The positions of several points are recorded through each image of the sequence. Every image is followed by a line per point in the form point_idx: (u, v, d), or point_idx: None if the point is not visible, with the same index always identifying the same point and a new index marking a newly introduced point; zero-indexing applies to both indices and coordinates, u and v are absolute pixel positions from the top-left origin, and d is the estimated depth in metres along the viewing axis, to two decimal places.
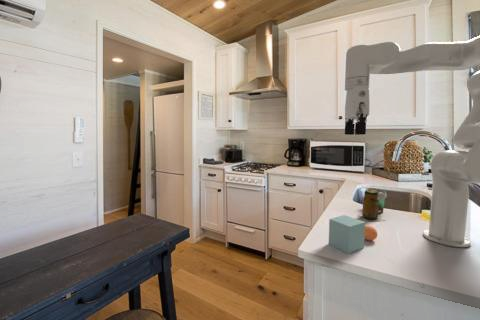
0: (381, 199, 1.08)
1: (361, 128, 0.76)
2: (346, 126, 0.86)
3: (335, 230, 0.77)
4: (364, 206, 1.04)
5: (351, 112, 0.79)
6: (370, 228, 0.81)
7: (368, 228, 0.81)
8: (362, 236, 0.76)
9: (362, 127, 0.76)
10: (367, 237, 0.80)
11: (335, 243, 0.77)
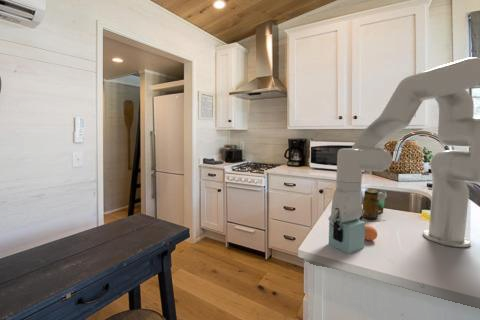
0: (381, 199, 1.08)
1: None
2: None
3: None
4: (364, 206, 1.04)
5: (358, 215, 0.76)
6: (370, 228, 0.81)
7: (368, 228, 0.81)
8: (362, 236, 0.76)
9: None
10: (367, 237, 0.80)
11: (335, 243, 0.77)
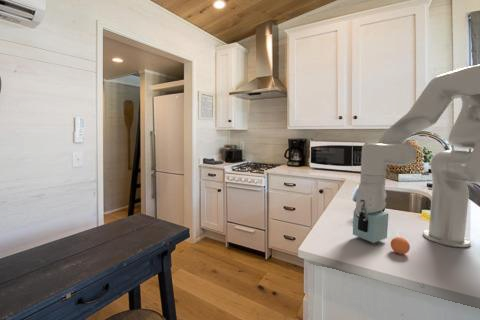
0: None
1: None
2: None
3: None
4: None
5: (381, 206, 0.80)
6: None
7: (391, 246, 0.74)
8: (385, 226, 0.80)
9: None
10: (396, 243, 0.72)
11: (359, 233, 0.81)
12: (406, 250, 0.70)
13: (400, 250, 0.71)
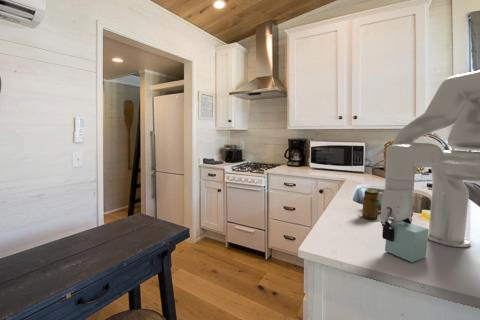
0: (381, 199, 1.08)
1: None
2: None
3: (395, 236, 0.71)
4: (364, 206, 1.04)
5: (409, 214, 0.73)
6: None
7: None
8: (425, 244, 0.70)
9: None
10: None
11: (394, 250, 0.71)
12: None
13: None
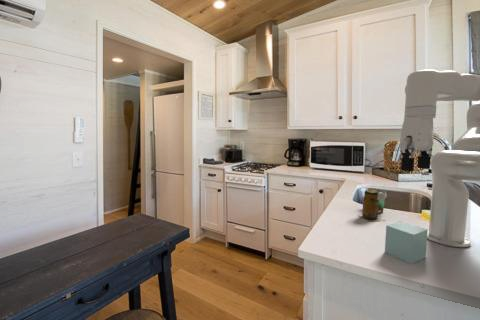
0: (381, 199, 1.08)
1: None
2: None
3: (394, 238, 0.71)
4: (364, 206, 1.04)
5: (429, 145, 0.70)
6: None
7: None
8: (424, 244, 0.70)
9: None
10: None
11: (394, 252, 0.71)
12: None
13: None
